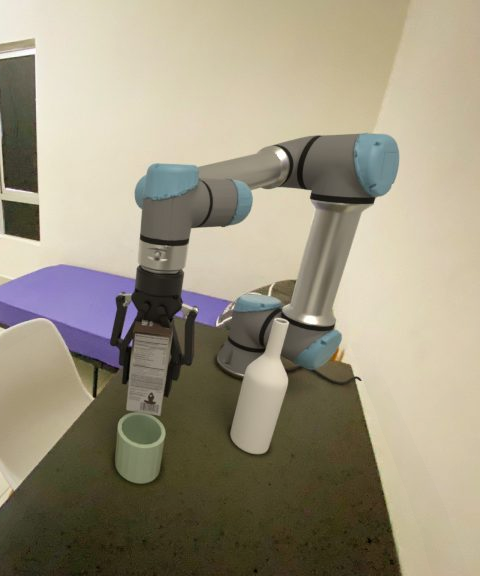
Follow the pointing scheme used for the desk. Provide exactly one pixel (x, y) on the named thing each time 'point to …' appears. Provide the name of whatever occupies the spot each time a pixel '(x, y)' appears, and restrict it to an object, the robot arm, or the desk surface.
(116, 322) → the robot arm
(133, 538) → the desk surface
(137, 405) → the coffee box
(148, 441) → the cup
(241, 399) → the bottle
